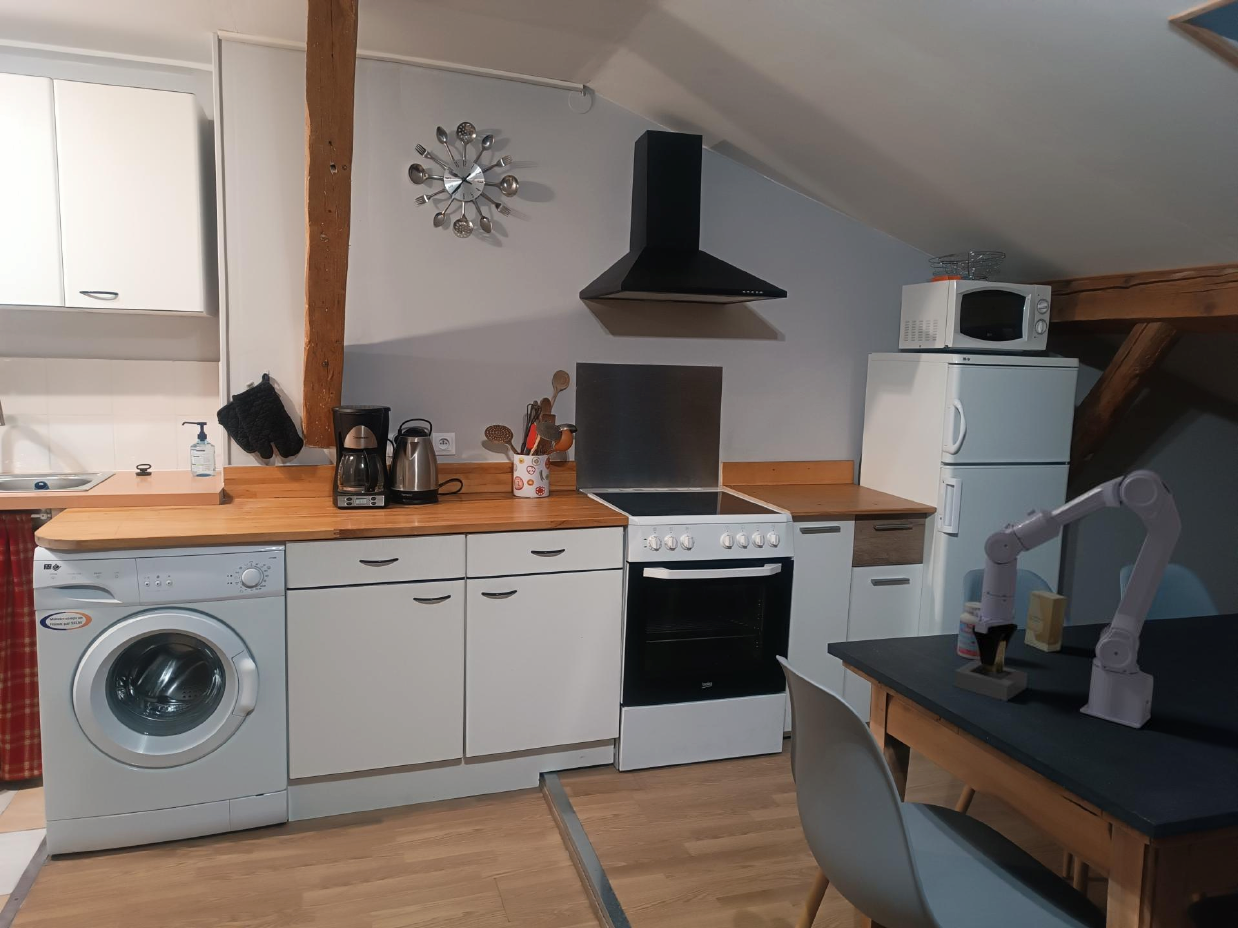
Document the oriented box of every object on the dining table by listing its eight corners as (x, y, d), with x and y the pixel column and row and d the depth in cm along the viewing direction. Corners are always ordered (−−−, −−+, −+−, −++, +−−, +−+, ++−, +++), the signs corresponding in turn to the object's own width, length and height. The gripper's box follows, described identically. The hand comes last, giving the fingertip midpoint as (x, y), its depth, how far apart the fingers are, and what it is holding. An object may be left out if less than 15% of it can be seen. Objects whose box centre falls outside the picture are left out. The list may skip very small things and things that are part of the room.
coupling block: (1025, 688, 167) (1027, 673, 167) (1006, 701, 160) (1007, 685, 160) (974, 673, 174) (975, 659, 174) (953, 685, 167) (954, 670, 167)
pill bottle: (955, 656, 184) (959, 605, 183) (958, 649, 190) (963, 599, 188) (985, 662, 182) (990, 610, 180) (988, 654, 187) (993, 603, 186)
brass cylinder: (1006, 670, 167) (1009, 640, 166) (996, 675, 164) (999, 644, 163) (986, 664, 170) (989, 634, 169) (976, 668, 167) (979, 638, 166)
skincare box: (1023, 643, 196) (1028, 590, 194) (1037, 641, 198) (1042, 589, 196) (1048, 652, 190) (1054, 598, 188) (1062, 650, 192) (1067, 596, 190)
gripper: (992, 582, 173) (985, 648, 175) (961, 594, 163) (955, 664, 164) (1029, 590, 168) (1022, 657, 170) (1000, 602, 158) (992, 674, 160)
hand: (991, 661), depth 167 cm, fingers closed on brass cylinder, 4 cm apart
